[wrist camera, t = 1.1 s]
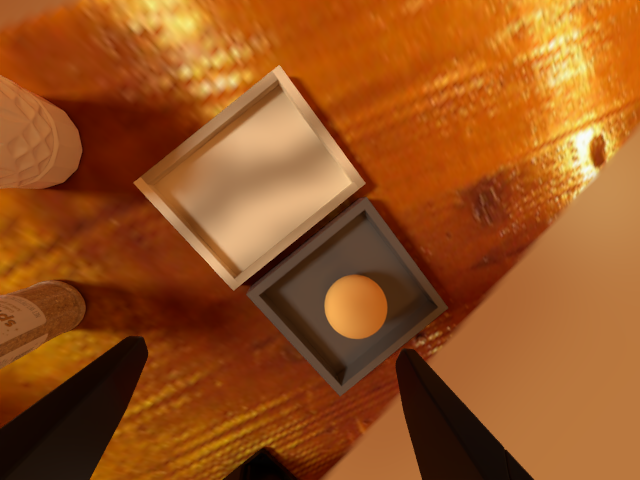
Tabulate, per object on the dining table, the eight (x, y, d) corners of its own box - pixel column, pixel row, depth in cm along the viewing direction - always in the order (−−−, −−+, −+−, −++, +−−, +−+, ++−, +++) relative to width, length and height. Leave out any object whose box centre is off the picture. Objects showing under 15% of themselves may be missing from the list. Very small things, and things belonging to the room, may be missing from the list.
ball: (385, 297, 23) (411, 322, 18) (343, 331, 23) (357, 365, 18) (353, 256, 22) (371, 271, 17) (309, 292, 22) (314, 316, 17)
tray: (360, 185, 22) (365, 183, 21) (237, 285, 22) (233, 290, 21) (280, 75, 20) (279, 65, 19) (144, 184, 20) (133, 182, 19)
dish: (434, 298, 24) (448, 307, 22) (335, 379, 24) (340, 396, 22) (359, 197, 22) (366, 196, 20) (250, 286, 22) (246, 294, 20)
